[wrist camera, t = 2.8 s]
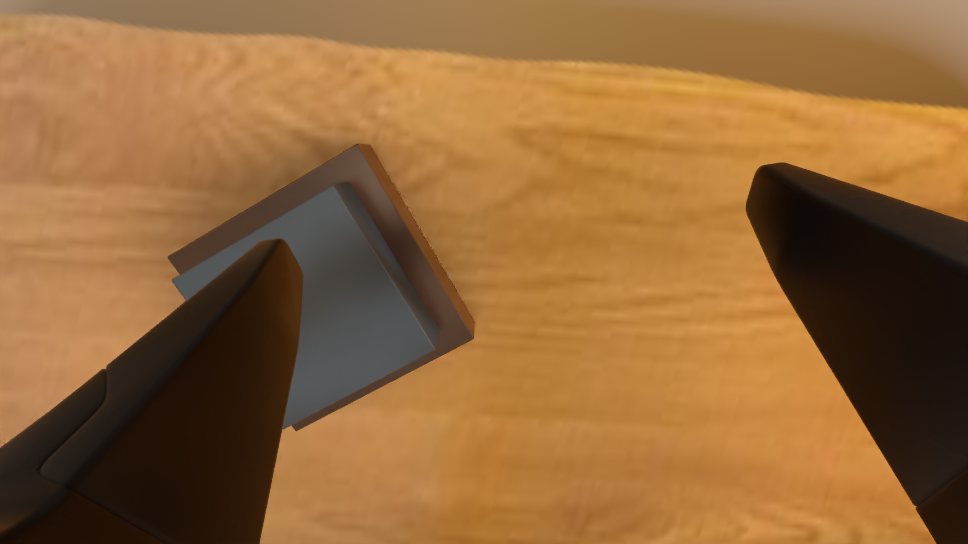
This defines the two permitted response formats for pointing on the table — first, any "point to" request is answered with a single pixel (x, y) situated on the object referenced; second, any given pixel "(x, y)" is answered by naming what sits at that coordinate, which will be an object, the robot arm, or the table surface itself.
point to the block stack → (344, 281)
